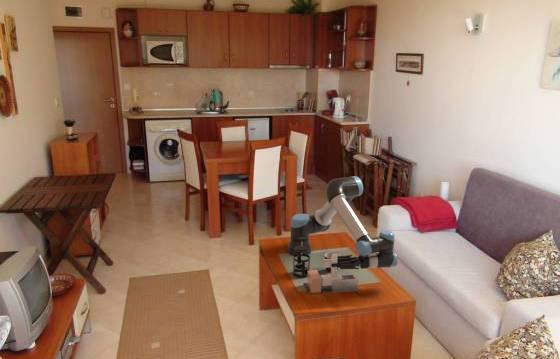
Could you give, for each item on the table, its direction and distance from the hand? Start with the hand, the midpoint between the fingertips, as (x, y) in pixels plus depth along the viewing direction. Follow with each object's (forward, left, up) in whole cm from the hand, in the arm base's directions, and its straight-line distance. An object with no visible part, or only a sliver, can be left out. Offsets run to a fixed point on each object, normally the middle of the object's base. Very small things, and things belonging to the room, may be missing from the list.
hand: (324, 263), depth 231 cm
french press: (-17, -8, -15) cm, 24 cm away
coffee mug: (-22, +11, -15) cm, 29 cm away
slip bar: (0, +3, -12) cm, 12 cm away
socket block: (0, -5, -14) cm, 14 cm away
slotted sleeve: (0, +4, -15) cm, 16 cm away
